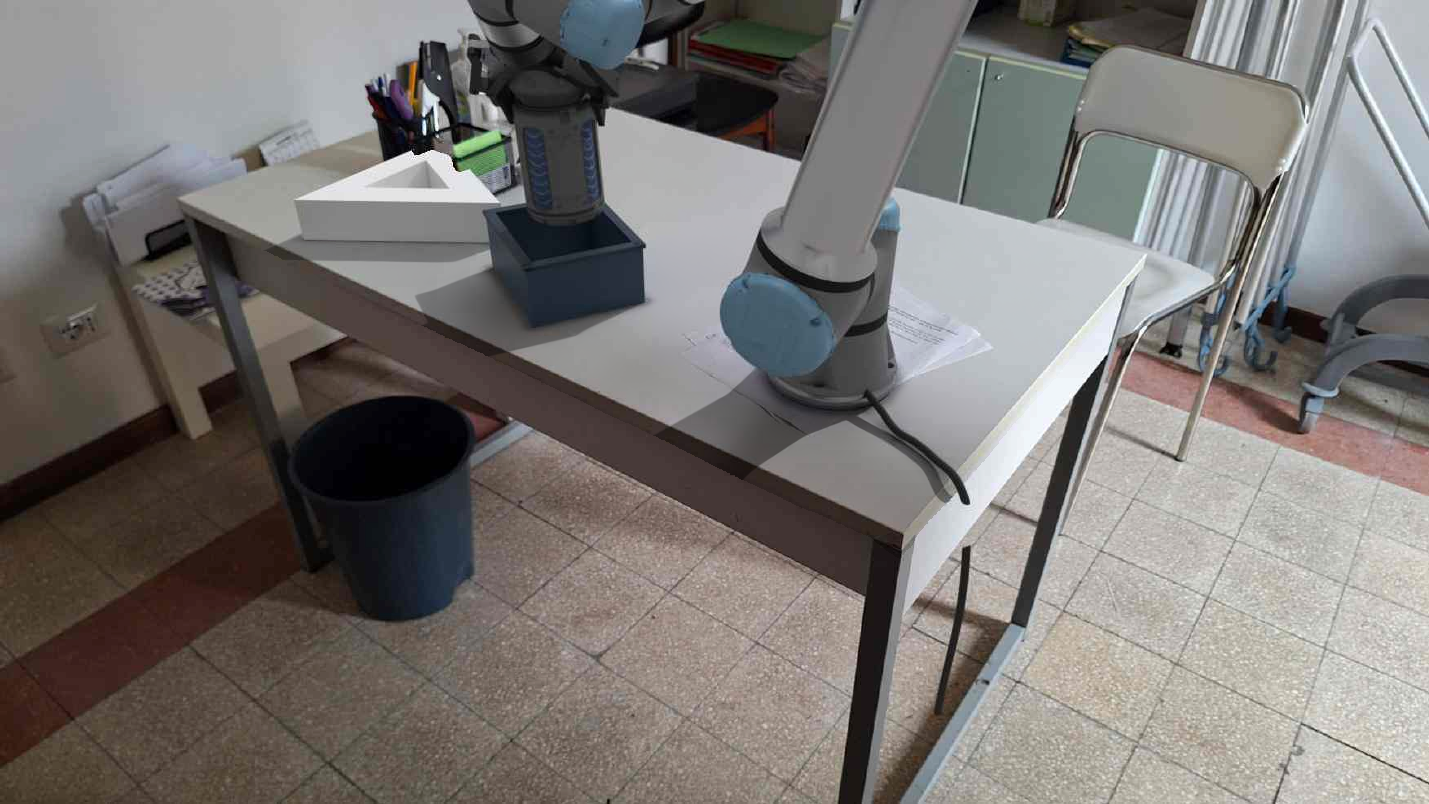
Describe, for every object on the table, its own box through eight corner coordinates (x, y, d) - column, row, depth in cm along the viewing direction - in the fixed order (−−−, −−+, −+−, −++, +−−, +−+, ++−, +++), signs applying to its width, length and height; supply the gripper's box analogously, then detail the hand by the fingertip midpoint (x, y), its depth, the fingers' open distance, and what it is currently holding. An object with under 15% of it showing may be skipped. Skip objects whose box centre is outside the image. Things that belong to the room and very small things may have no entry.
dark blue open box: (648, 302, 132) (646, 244, 127) (531, 329, 126) (524, 268, 121) (597, 245, 146) (593, 190, 141) (489, 266, 140) (482, 210, 135)
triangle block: (446, 174, 168) (440, 138, 164) (568, 207, 157) (564, 169, 153) (303, 239, 147) (293, 199, 143) (433, 283, 136) (425, 241, 132)
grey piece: (543, 192, 136) (516, 1, 122) (624, 207, 131) (607, 8, 117) (497, 219, 129) (463, 19, 115) (582, 236, 123) (557, 28, 110)
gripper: (627, -14, 104) (650, 90, 125) (410, -17, 105) (470, 86, 127) (622, 52, 102) (646, 145, 124) (403, 48, 104) (465, 141, 125)
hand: (557, 115), depth 125 cm, fingers closed on grey piece, 11 cm apart
